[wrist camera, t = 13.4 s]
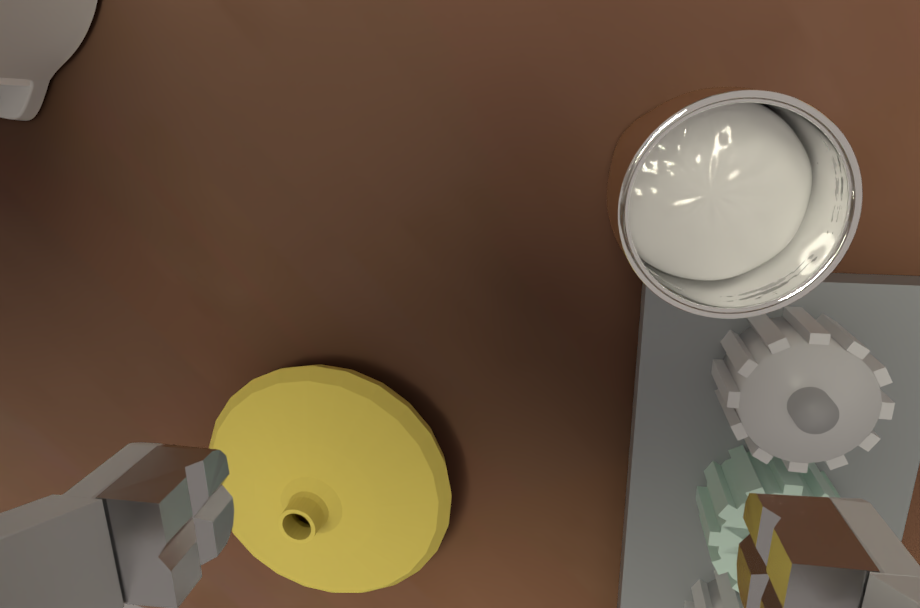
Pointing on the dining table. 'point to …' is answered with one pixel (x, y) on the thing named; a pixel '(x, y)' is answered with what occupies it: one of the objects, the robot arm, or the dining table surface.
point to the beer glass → (733, 200)
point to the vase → (333, 478)
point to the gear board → (708, 435)
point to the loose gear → (730, 492)
